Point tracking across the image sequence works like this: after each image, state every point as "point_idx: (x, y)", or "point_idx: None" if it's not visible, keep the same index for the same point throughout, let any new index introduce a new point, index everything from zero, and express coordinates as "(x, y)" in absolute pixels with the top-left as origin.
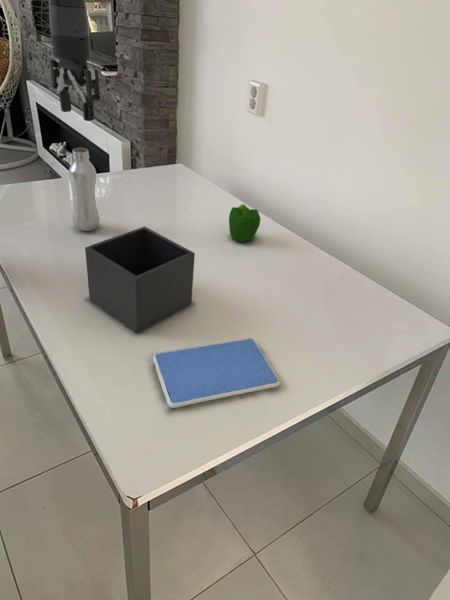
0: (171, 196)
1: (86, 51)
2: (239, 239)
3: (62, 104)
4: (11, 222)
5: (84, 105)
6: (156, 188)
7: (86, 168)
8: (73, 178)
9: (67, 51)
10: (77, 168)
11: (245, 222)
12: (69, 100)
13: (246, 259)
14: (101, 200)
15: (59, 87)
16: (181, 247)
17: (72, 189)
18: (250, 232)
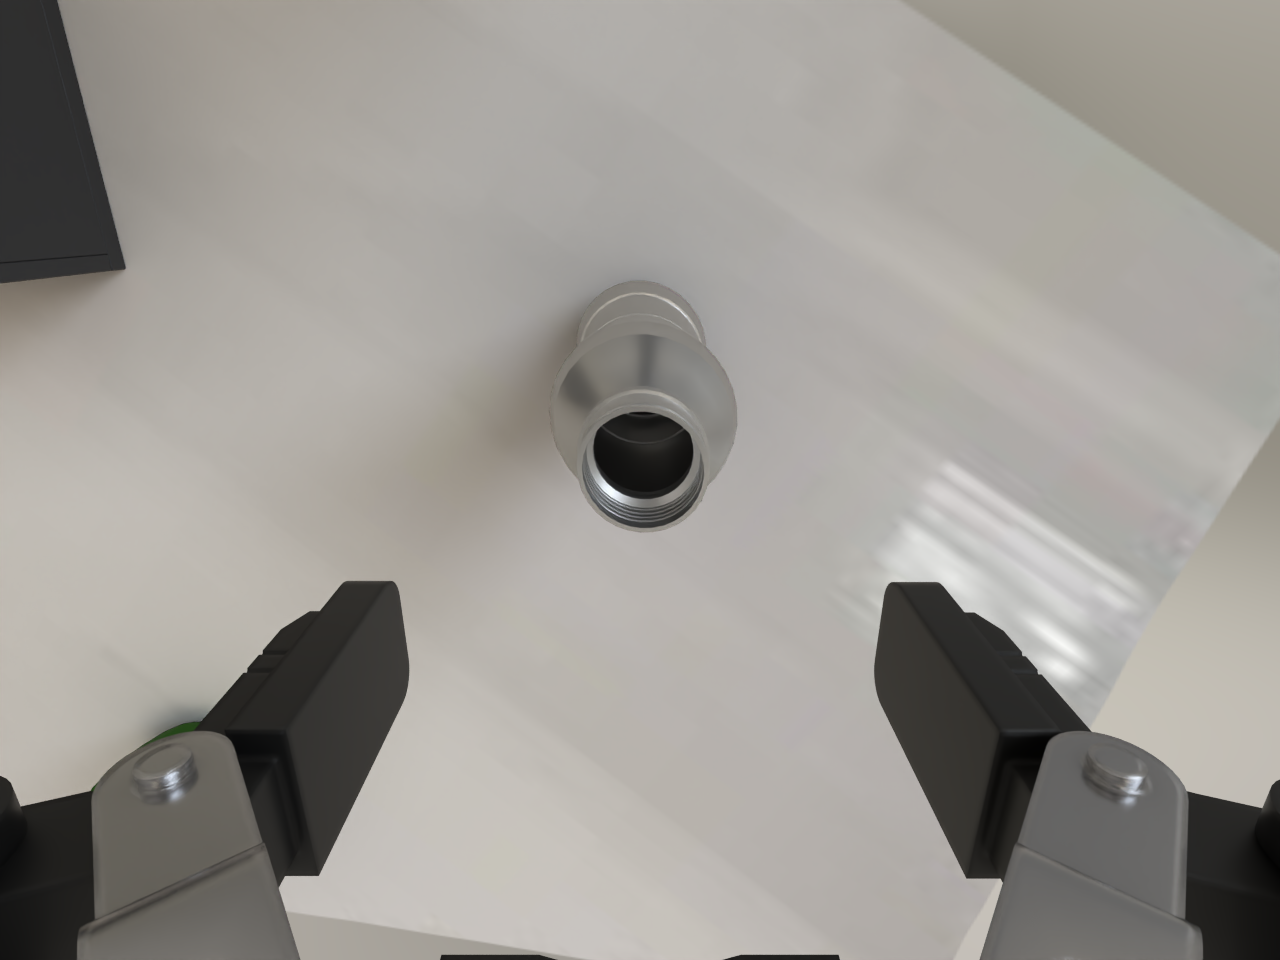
0: (679, 804)
1: None
2: (168, 730)
3: (926, 632)
4: (938, 68)
5: (248, 704)
6: (785, 811)
7: (566, 420)
8: (619, 323)
9: None
10: (599, 366)
11: None
12: (929, 777)
13: (64, 655)
14: (845, 567)
15: (1102, 834)
16: None
17: (662, 321)
18: None
